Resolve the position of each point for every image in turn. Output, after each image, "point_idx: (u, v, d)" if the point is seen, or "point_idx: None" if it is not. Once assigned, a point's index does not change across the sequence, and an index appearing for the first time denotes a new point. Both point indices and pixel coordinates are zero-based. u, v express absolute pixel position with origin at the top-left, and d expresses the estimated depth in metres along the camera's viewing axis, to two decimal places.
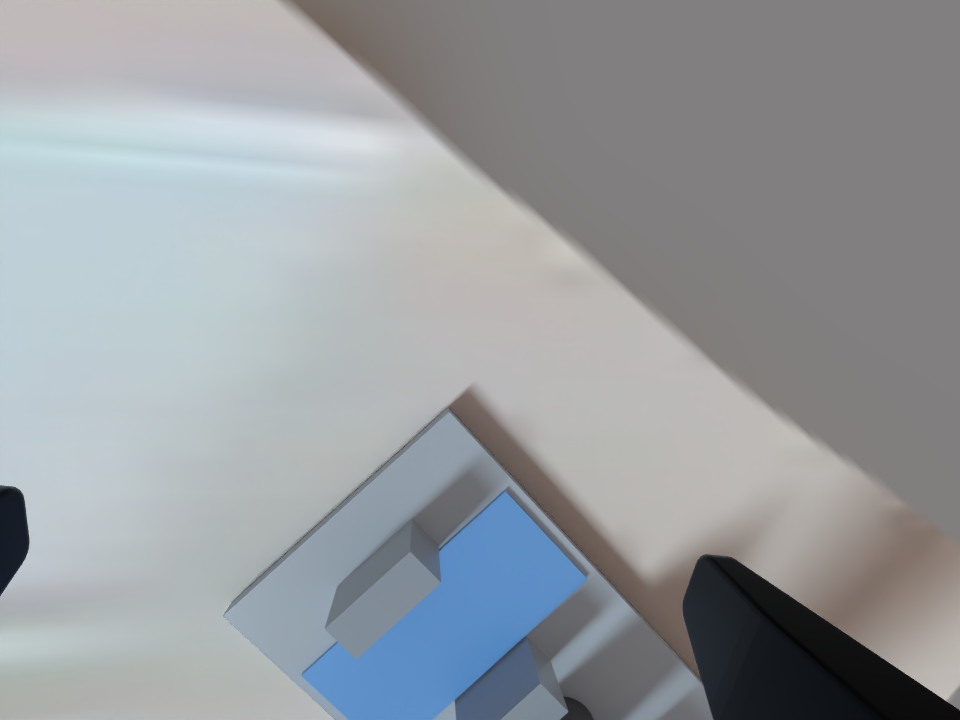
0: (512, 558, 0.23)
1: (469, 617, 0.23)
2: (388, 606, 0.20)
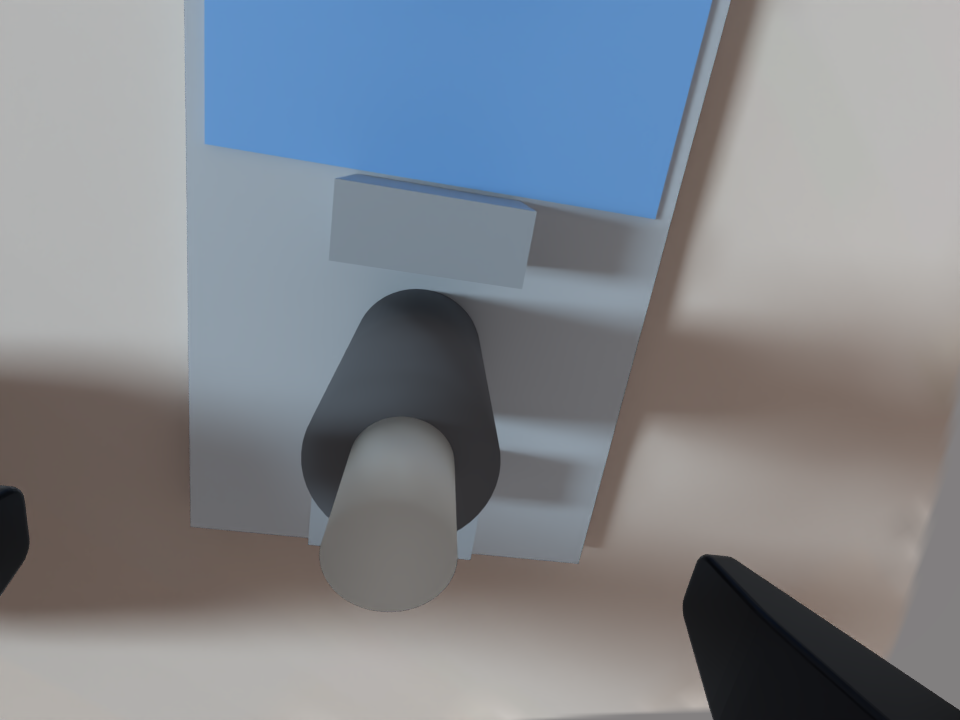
0: (619, 82, 0.13)
1: (493, 89, 0.13)
2: None
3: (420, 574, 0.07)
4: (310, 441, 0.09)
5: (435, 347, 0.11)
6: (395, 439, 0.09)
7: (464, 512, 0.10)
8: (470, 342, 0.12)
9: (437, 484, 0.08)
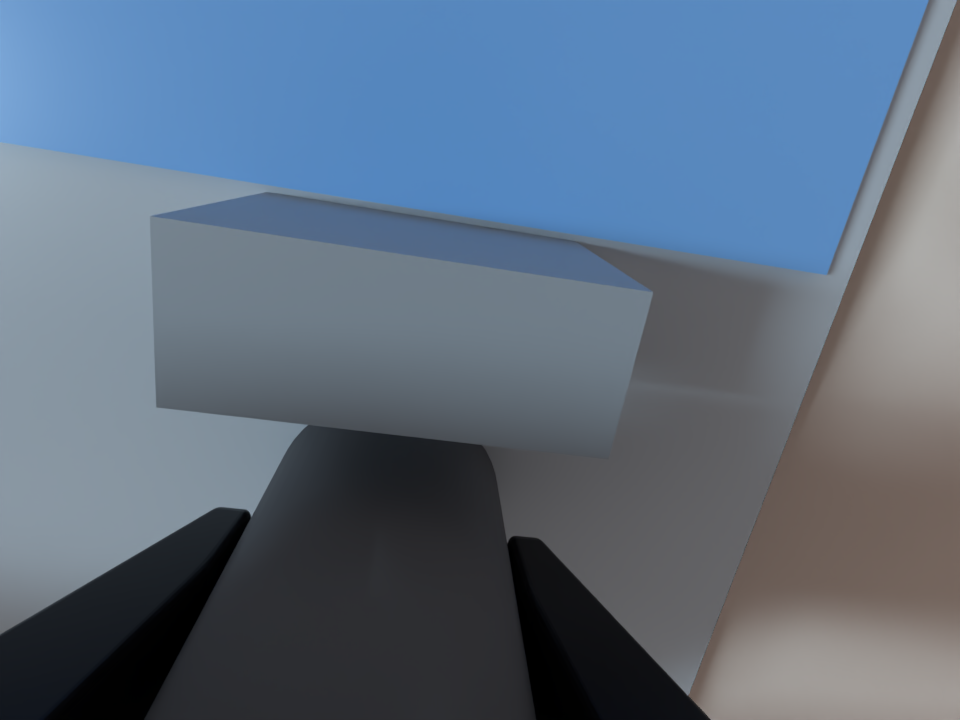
0: (785, 10, 0.07)
1: (533, 24, 0.06)
2: None
3: None
4: None
5: (401, 669, 0.04)
6: None
7: None
8: (486, 550, 0.06)
9: None
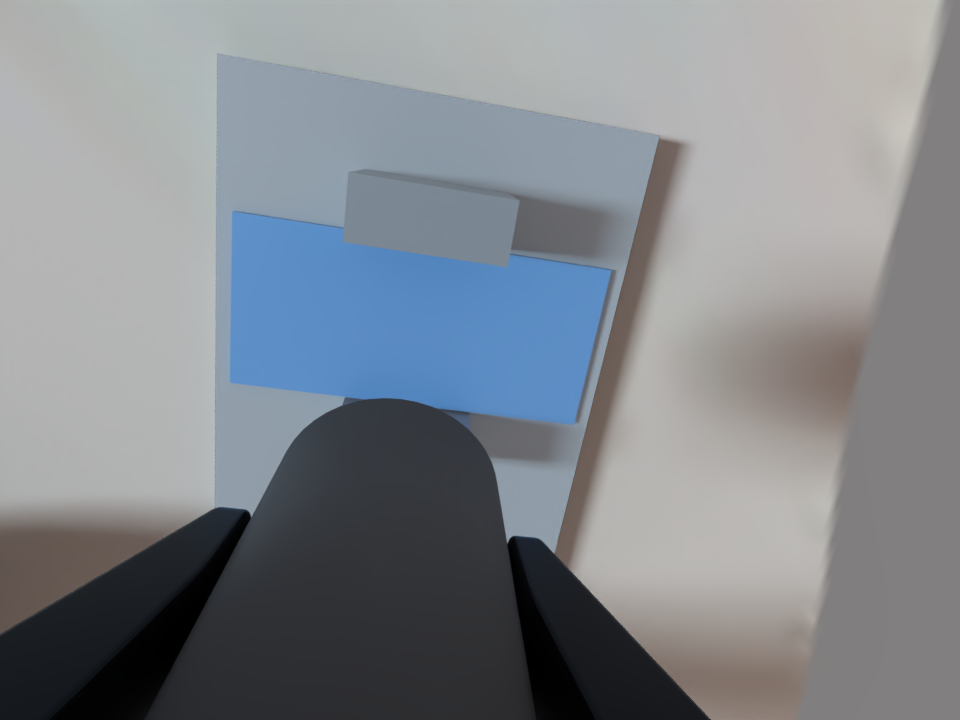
0: (542, 335, 0.17)
1: (446, 342, 0.17)
2: (435, 228, 0.13)
3: None
4: None
5: (401, 669, 0.04)
6: None
7: None
8: (487, 550, 0.06)
9: None
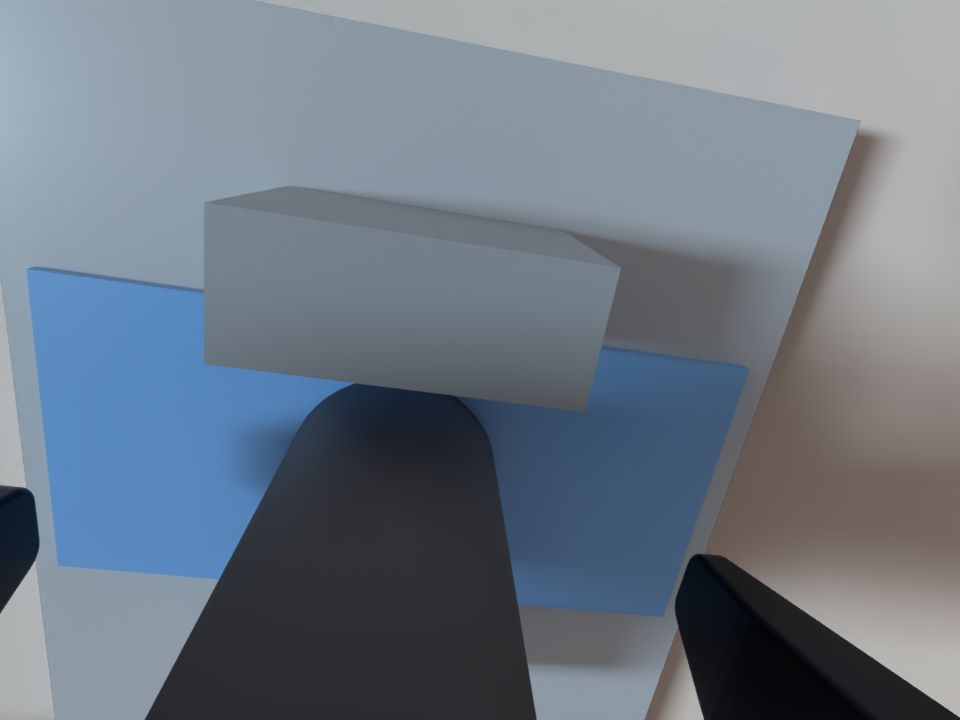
0: (617, 480, 0.10)
1: None
2: (421, 332, 0.06)
3: None
4: None
5: (408, 589, 0.05)
6: None
7: None
8: (482, 506, 0.07)
9: None
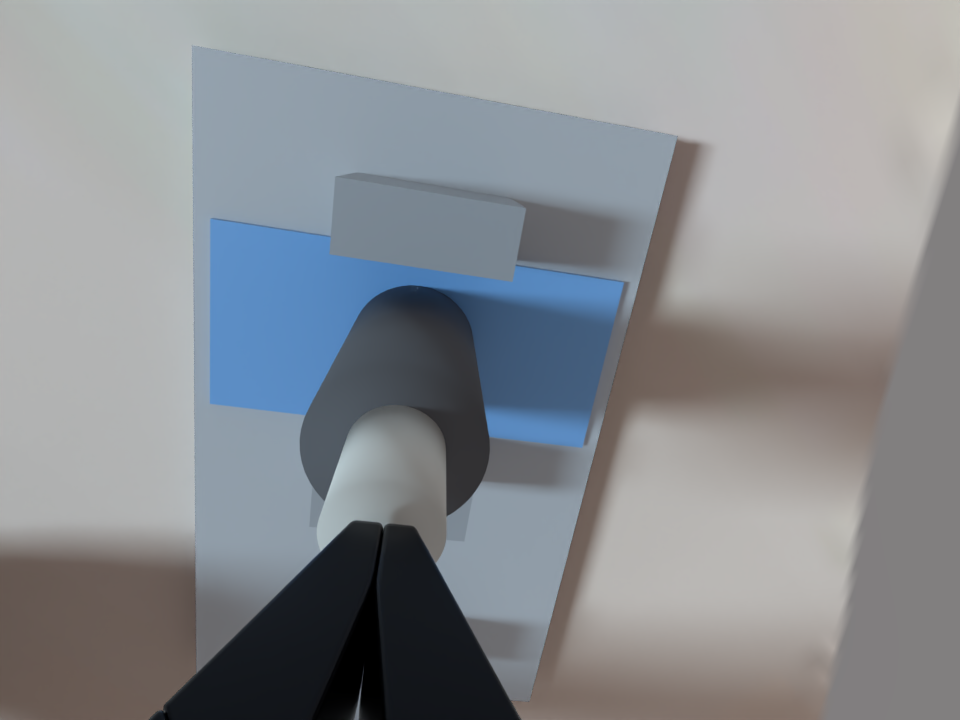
0: (548, 352, 0.16)
1: None
2: (432, 239, 0.12)
3: None
4: (308, 428, 0.10)
5: (427, 340, 0.11)
6: (388, 425, 0.09)
7: (456, 497, 0.10)
8: (462, 336, 0.13)
9: (428, 467, 0.08)
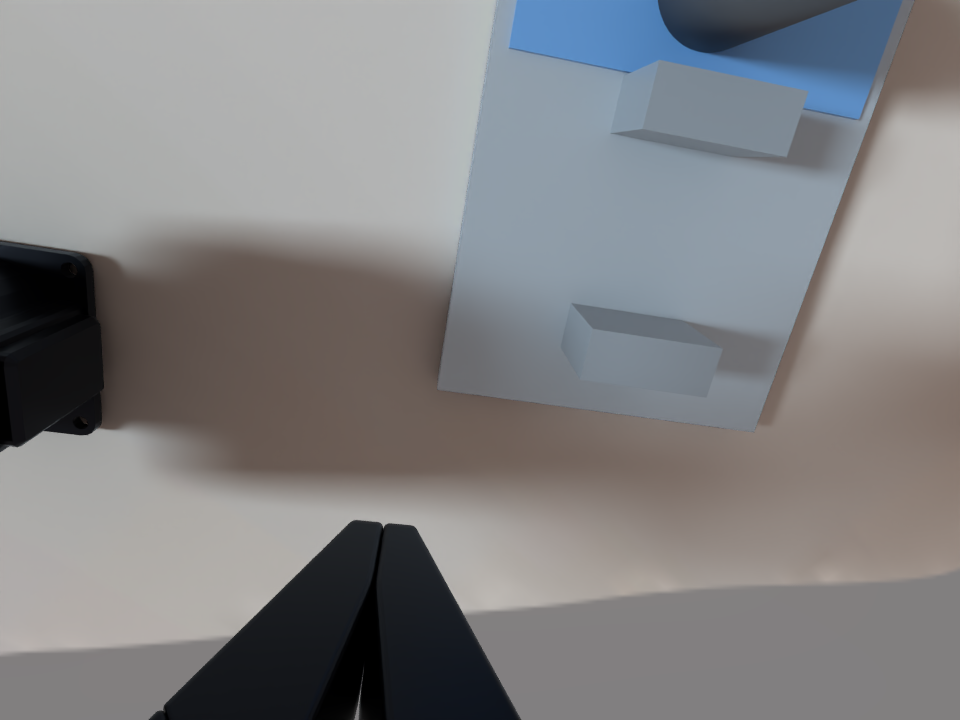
0: None
1: None
2: None
3: None
4: None
5: None
6: None
7: None
8: None
9: None
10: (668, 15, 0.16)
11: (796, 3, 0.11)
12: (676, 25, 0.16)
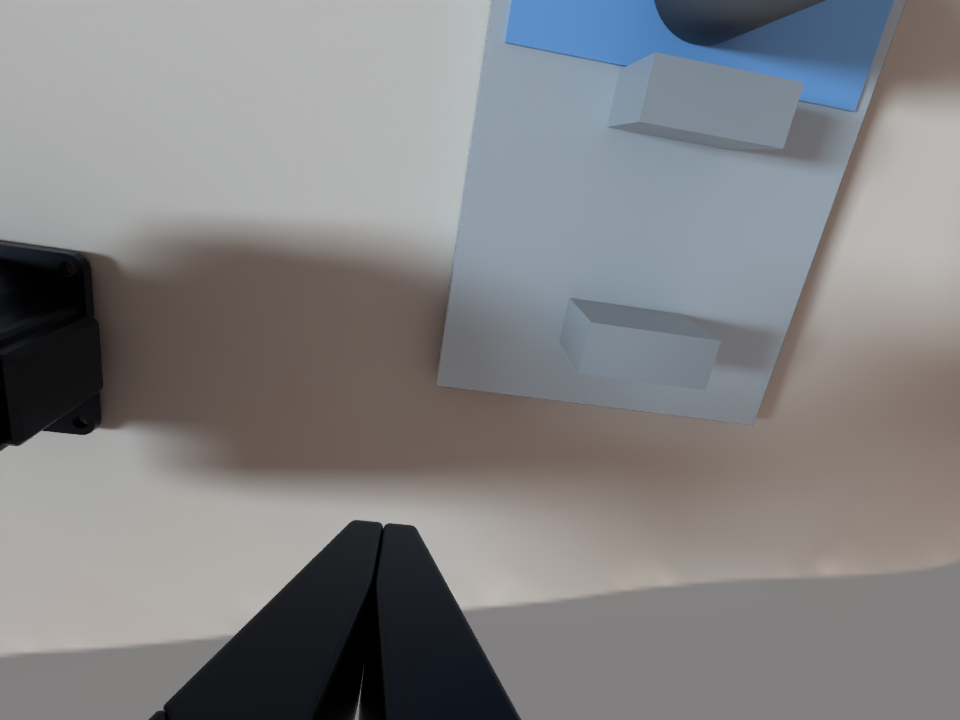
0: None
1: None
2: None
3: None
4: None
5: None
6: None
7: None
8: None
9: None
10: (663, 8, 0.16)
11: None
12: (672, 18, 0.16)
